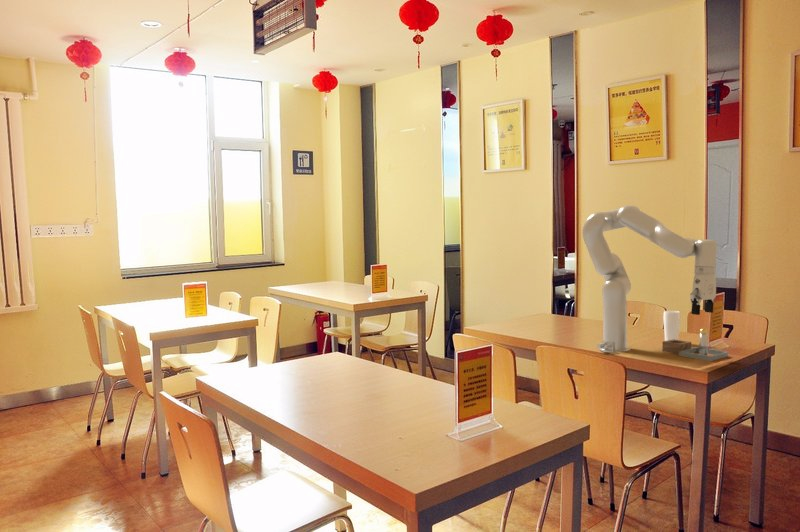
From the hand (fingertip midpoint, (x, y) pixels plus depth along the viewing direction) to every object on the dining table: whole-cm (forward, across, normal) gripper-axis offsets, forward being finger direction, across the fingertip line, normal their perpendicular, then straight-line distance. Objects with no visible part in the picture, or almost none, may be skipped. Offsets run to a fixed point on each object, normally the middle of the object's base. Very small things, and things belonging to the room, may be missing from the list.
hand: (702, 313), depth 255 cm
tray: (+18, +1, -1) cm, 18 cm away
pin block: (+19, +1, +10) cm, 21 cm away
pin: (+18, 0, -1) cm, 18 cm away
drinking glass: (+19, +15, +21) cm, 32 cm away
